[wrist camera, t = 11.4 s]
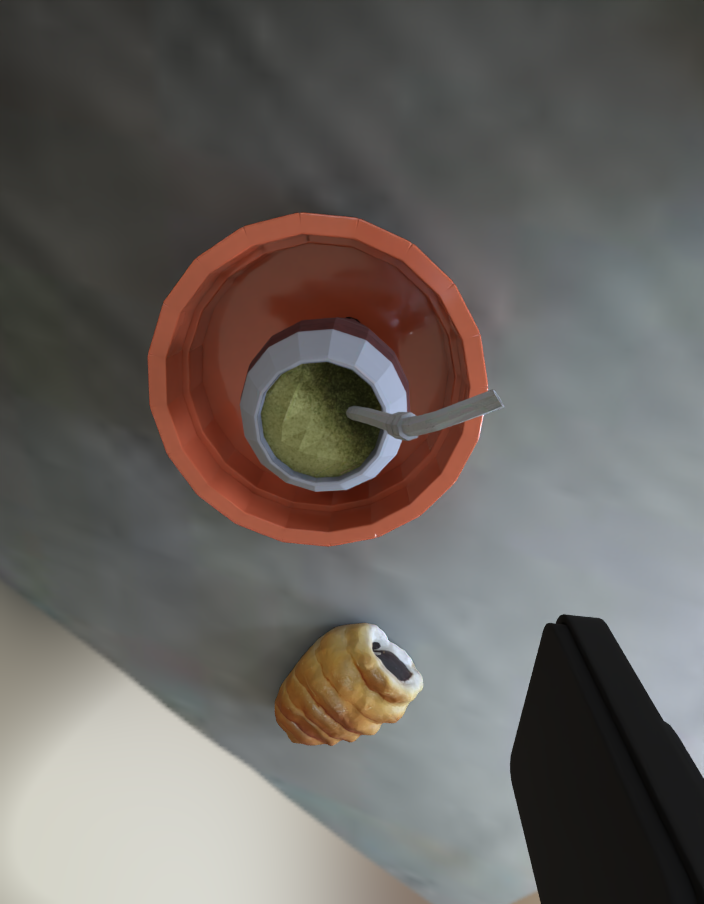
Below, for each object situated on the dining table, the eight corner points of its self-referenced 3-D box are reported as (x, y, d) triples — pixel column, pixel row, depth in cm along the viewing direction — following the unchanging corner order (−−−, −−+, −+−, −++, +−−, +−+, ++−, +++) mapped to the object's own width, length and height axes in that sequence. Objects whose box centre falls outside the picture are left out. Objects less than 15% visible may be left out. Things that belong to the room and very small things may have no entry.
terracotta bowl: (182, 205, 26) (141, 196, 22) (490, 235, 26) (516, 232, 22) (186, 487, 31) (153, 530, 27) (445, 512, 31) (457, 559, 27)
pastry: (323, 742, 38) (318, 794, 34) (251, 681, 36) (237, 729, 32) (430, 668, 35) (437, 715, 32) (357, 599, 34) (355, 641, 30)
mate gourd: (250, 419, 29) (137, 579, 15) (291, 268, 27) (201, 293, 12) (385, 461, 30) (397, 654, 16) (438, 318, 27) (511, 396, 13)
